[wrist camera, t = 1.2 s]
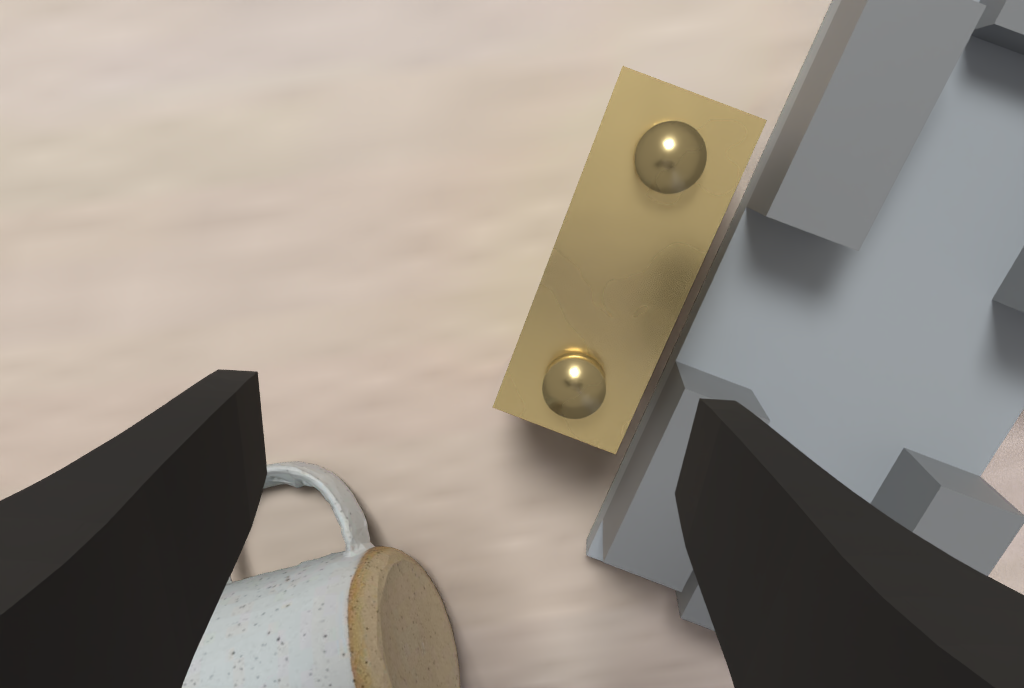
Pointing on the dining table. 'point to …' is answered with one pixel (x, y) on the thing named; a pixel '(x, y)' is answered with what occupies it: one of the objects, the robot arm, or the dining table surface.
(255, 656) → the ceramic mug
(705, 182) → the link
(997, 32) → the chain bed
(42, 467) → the dining table surface
